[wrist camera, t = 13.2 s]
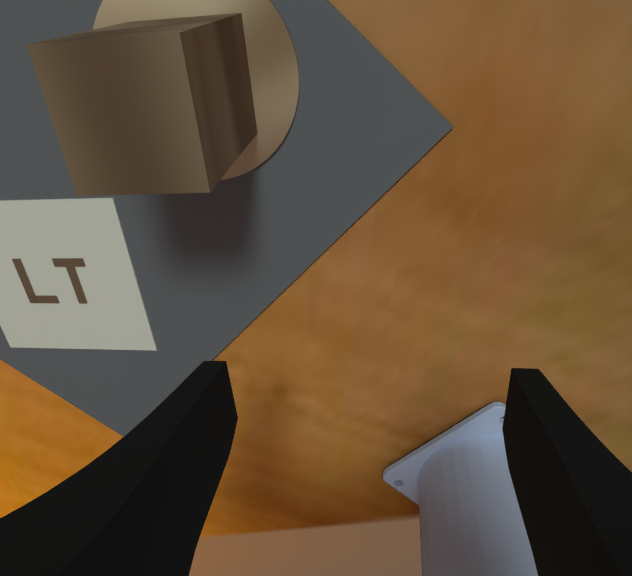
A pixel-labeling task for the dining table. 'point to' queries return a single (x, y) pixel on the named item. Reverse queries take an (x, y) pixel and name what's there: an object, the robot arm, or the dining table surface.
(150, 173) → the walnut block
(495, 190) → the dining table surface
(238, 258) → the charcoal mat
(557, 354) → the dining table surface
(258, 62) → the cork coaster
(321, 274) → the dining table surface
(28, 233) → the card
